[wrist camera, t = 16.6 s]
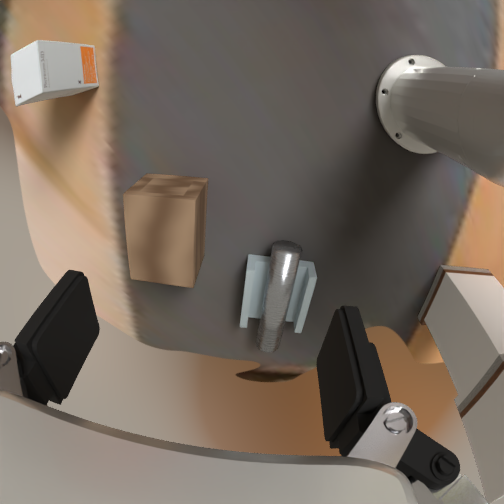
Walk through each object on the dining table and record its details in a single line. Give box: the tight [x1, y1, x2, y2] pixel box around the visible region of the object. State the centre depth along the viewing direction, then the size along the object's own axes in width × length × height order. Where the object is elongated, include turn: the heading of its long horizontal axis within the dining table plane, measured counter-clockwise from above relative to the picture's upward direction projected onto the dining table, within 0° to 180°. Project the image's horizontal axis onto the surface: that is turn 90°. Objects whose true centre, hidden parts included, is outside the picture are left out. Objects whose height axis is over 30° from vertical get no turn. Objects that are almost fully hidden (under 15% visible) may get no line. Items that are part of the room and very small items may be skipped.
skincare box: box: [11, 40, 99, 106], centre depth 25 cm, size 6×4×12 cm
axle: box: [256, 240, 302, 352], centre depth 42 cm, size 17×4×4 cm, turn 173°
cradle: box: [240, 254, 317, 333], centre depth 44 cm, size 9×10×4 cm
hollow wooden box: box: [123, 174, 208, 288], centre depth 37 cm, size 8×11×8 cm
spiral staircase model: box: [418, 265, 504, 504], centre depth 30 cm, size 11×11×35 cm
